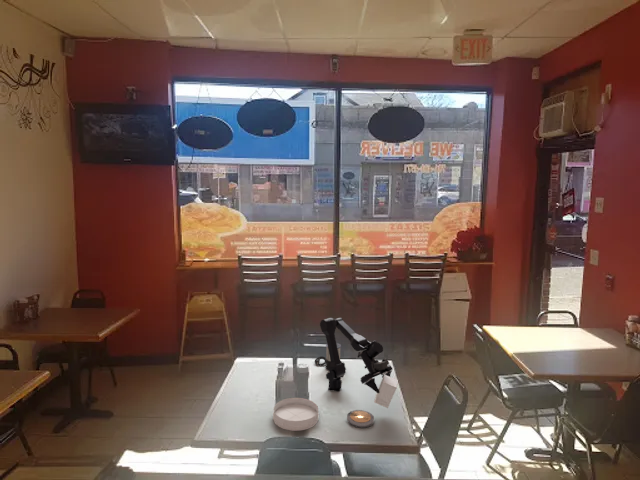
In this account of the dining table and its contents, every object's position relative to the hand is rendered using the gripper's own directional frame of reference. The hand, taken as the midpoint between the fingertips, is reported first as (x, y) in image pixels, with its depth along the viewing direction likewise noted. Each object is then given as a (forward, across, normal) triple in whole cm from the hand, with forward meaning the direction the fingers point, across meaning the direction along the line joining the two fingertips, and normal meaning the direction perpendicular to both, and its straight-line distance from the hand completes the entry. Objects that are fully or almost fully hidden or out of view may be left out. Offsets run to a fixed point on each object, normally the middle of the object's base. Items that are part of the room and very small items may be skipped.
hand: (385, 390), depth 226 cm
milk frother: (-31, +16, +51) cm, 62 cm away
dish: (-8, -36, +28) cm, 46 cm away
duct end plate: (+7, -13, +12) cm, 19 cm away
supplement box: (+4, 0, +6) cm, 7 cm away
